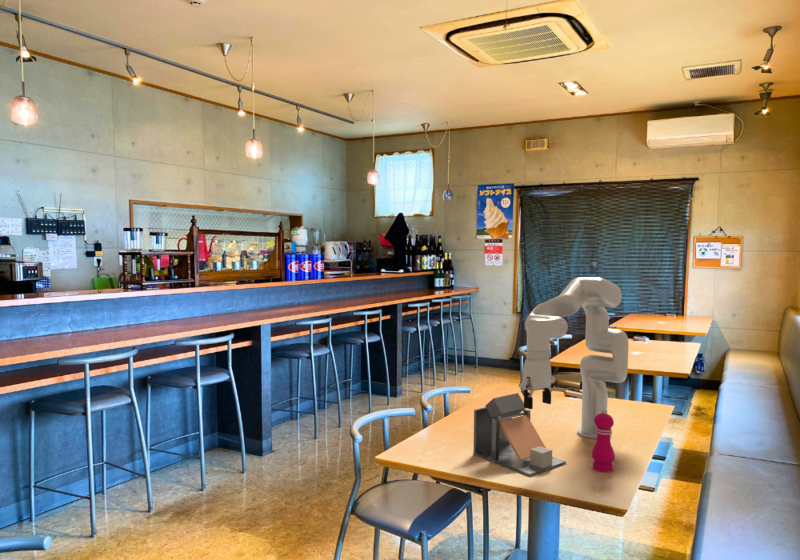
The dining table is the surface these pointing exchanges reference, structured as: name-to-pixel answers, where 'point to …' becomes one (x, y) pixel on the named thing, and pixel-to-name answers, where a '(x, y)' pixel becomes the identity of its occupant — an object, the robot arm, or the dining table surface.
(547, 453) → the light grey cube
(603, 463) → the pepper mill
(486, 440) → the frame
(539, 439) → the trapdoor
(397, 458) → the dining table surface
